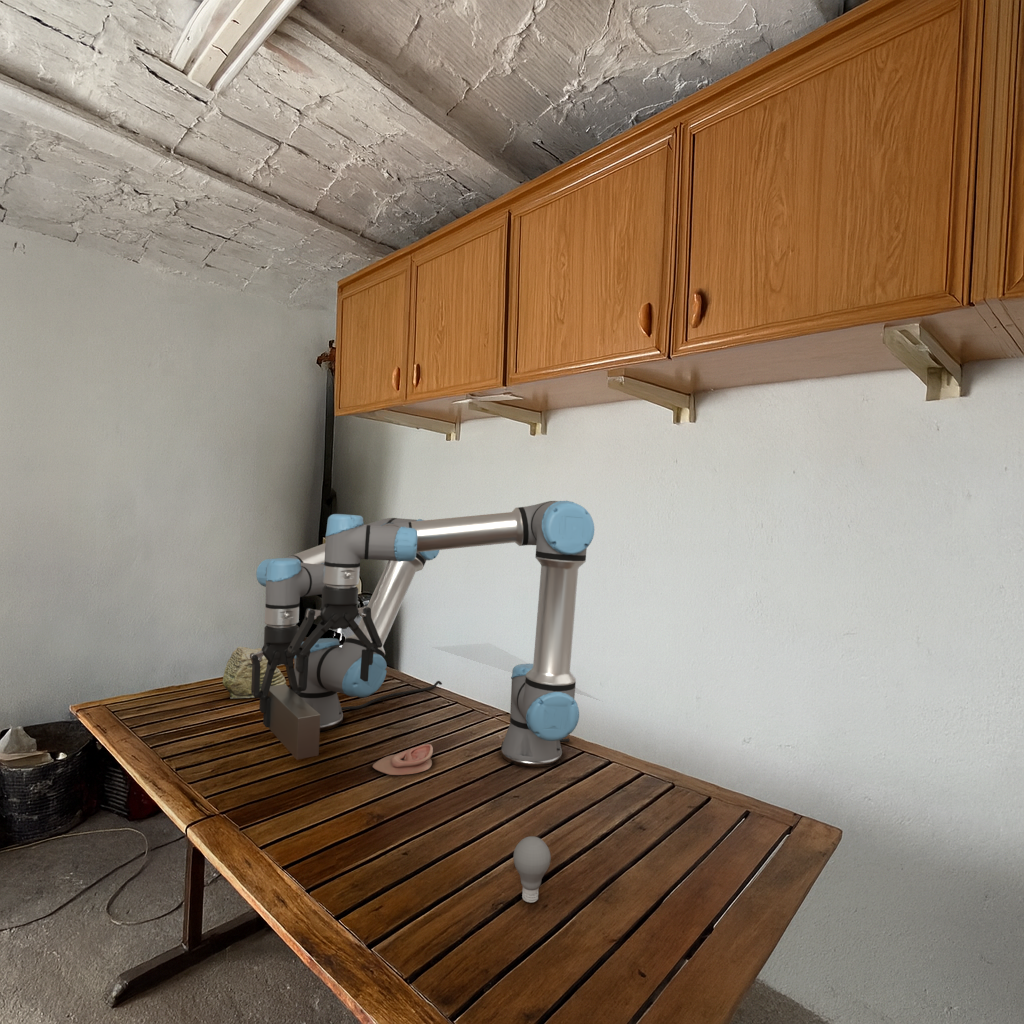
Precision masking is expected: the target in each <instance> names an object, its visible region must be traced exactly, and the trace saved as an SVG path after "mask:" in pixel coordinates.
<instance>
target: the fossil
mask: <svg viewBox="0 0 1024 1024" xmlns="http://www.w3.org/2000/svg"><path fill="white" fill-rule="evenodd" d="M261 650H262V647H261V648H260V647H258V648H251V647H247V646H246V647H245V646H238V647H237V648H236V649H235V650H233V651H232V653H231V656H230V657H229V659H228V660H227V663H226V666H225V668H224V671H223V675H222V676H223V677H222V685H223V687H224V688H225V690H226V691H228V693H229V698H230V699H250V698H255V697H254V696H253V695H252V694H251V686H252V661H251V659H250V654H251V653H254V654H255V653H257V652H259V651H261ZM267 662H268V660H267V659H266V658H265V656H264V655H263V656H262V661H261V662H260V690H261V686H262V682H263V679H264V675H265V672H266V668H267ZM283 684H285V685H287V680H286V678H285V676H284V674H283V673H282V672H281V669H279V668H278V667H276V670H275V671H274V675H273V679H272V682H271V686H276V685H283Z"/></svg>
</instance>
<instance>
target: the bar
mask: <svg viewBox="0 0 1024 1024" xmlns="http://www.w3.org/2000/svg"><path fill="white" fill-rule="evenodd" d="M268 697H269V698H270V699H271V705H270V727H267V728H268V729H269V730H270V731H271V733H272V734H273V735H274V736H275V737H276V738H277V739H278V741H280V743H282V745H283V746H284V747H285V748H286V749H287V751H288V752H289V753H290V754H291V756H293V758H294V759H295V760H296V761H297V760H298V761H299V760H302V759H309V758H313V757H318V756H319V755H320V754H319V753H320V735H321V734H320V732H321V731H320V714H319V713H318V712H317V711H316V710H314V709H313V708H312V707H311V706H310V705H309V704H307V703H306V702H305V701H304V700H303V699H302V698H300V697H299V696H298V695H297V694H296V693H295V692H294V691H292V690H291V689H290V686H288V685H287V684H286V685H285V684H283V685H276V686H270V690H269V693H268Z"/></svg>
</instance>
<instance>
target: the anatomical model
mask: <svg viewBox="0 0 1024 1024" xmlns="http://www.w3.org/2000/svg"><path fill="white" fill-rule="evenodd" d="M433 753H434V747H433V745H432V744H431V743H427V744H422V745H421V744H420V745H418V746H415V747H412V748H409V749H407V750H404V751H401V752H399V753H396V754H390V755H387V756H385V757H383V758H381V759H378V760H377V761H376V762H374V763H373V764H372V768H373V769H374V770H375V771H378V772H380V773H382V774H385V775H390V776H403V775H404V776H405V775H413V774H418V773H422V772H425V771H428V770H430V769H431V767H432V765H433V761H432V756H433Z"/></svg>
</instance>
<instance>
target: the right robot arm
mask: <svg viewBox="0 0 1024 1024" xmlns="http://www.w3.org/2000/svg"><path fill="white" fill-rule="evenodd" d="M423 520H424V519H423ZM326 523H327V524H326V532H325V562H324V574H323V583H324V584H326V585H325V586H324V587H323V589H322V594H321V605H320V608H319V609H313V608H312V607H307V608H306V609H305V613H304V618H303V620H302V622H301V624H300V626H298V627H299V628H298V631H297V633H296V635H295V636H294V638H293V640H292V642H291V644H290V646H289V647H288V652H289V653H291V654H292V655H296V671H298V672H300V678H299V686H301V687H302V688H303V689H305V688H307V675H308V660H309V657H308V656H306V654H307V653H308V652H309V650H310V649H311V648H312V647H313V646H314V645H315V643H316V642H317V641H318V640H319V639H322V637H323V636H324V634H326V633H327V632H329V630H333V631H335V630H339V629H341V630H347V629H348V628H349V629H350V630H351V631H352V633H353V634H355V635H356V636H357V638H358V639H359V640H360V641H361V643H362V644H363V645H364V646H365V648H366V650H365V649H363V650H362V656H361V671H360V679H362V680H363V681H365V682H366V681H368V673H369V665H372V663H373V653H374V652H375V651H376V649H377V648H381V647H382V642H381V640H380V637H379V635H378V632H377V630H376V628H375V625H374V623H373V620H372V618H371V609H370V608H369V607H367V605H362V607H358V602H359V601H358V600H359V588H358V585H359V584H360V569H361V560H373V561H374V560H375V561H387V562H388V561H398V562H402V561H413V560H414V559H415V558H416V552H425V551H435V550H439V551H443V550H454V549H464V548H474V547H482V546H493V545H502V544H503V545H504V544H513V543H514V544H516V545H517V546H518V547H522V546H523V547H524V546H535V559H536V560H537V562H538V563H539V564H540V578H539V589H538V601H537V614H536V628H535V637H534V638H535V640H534V650H533V651H534V652H533V662H532V663H521V664H516V665H515V666H514V667H513V668H512V672H511V676H510V679H511V687H510V689H511V690H510V713H509V726H508V728H507V731H506V733H505V736H504V739H503V741H502V742H501V745H500V748H501V754H500V755H501V757H502V759H504V760H505V761H506V762H508V763H509V764H511V765H515V766H519V767H525V768H533V769H534V768H538V769H539V768H548V767H551V766H554V765H556V764H558V763H559V762H561V761H562V758H563V757H562V755H563V748H562V745H561V743H570V741H571V740H570V738H567V737H568V736H569V735H570V734H572V733H573V732H574V730H575V729H576V727H577V726H578V723H579V720H580V709H579V705H578V703H577V701H576V700H575V696H576V684H577V683H576V682H577V678H576V676H574V674H573V673H572V672H571V665H572V664H571V661H572V654H573V653H572V652H573V641H574V627H575V613H576V602H577V590H578V577H579V569H580V567H582V566H583V565H584V564H585V563H586V561H587V550H588V547H589V546H590V545H591V543H592V541H593V539H594V536H595V523H594V520H593V518H592V515H591V514H590V512H589V511H588V509H586V508H585V507H583V506H582V505H581V504H580V503H579V504H578V503H577V502H574V501H570V500H548V501H544V502H541V503H537V504H531V505H527V506H520V507H515V508H514V509H513V510H512V511H508V512H499V513H489V514H487V513H486V514H479V515H478V514H477V515H476V514H475V515H467V516H456V517H445V518H435V519H425V520H424V521H414V522H404V523H385V524H383V525H381V526H370V525H366V524H364V523H365V522H364V517H363V516H362V515H357V514H348V513H347V514H345V513H333V514H330V515H329V516H328V517H327V522H326ZM358 616H359V617H361V618H363V621H364V623H365V626H366V628H367V631H368V633H369V635H370V638H371V640H372V643H371V642H370V641H369V639H368V638H367V637H366V636H365V634H364V633H363V632H362V630H361V629H360V628H359V626H358V625H359V624H358V623H357V622H356V621H355V620H356V618H357V617H358ZM318 617H320V619H321V620H320V621H319V622H318V624H317V625H316V627H315V629H314V630H312V632H311V633H310V634H309V635H308V633H309V631H310V630H311V628H312V626H313V624H314V622H315V620H317V618H318ZM307 635H308V636H307ZM306 636H307V638H306ZM302 642H303V644H302ZM301 644H302V645H301Z"/></svg>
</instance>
